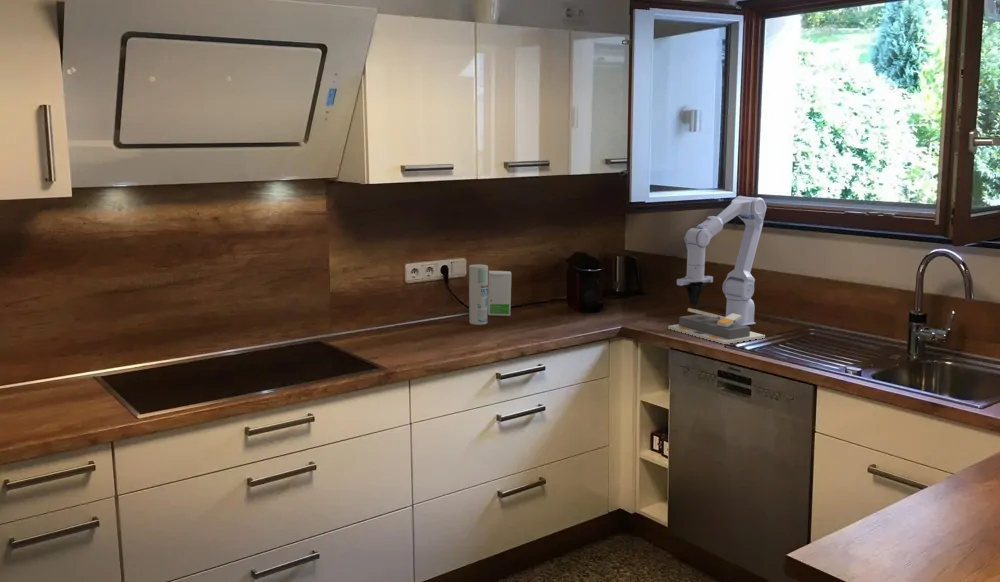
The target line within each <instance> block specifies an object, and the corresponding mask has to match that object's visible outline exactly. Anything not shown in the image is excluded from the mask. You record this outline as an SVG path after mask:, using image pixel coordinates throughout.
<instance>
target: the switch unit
mask: <svg viewBox="0 0 1000 582" xmlns="http://www.w3.org/2000/svg"><path fill="white" fill-rule="evenodd" d="M719 320H721V319H717V318H713V317H709V316H705V315H701V314H697V313H696V314H692V315H691V314H690V315H685V316H679V319H678V324H673V325H667V328H668V330H670V329H671V330H670V331H674V330H675V332H679V333H681V332H682V333H681V334H685V333H686V334H685V335H688V334H689V336H692V335H693V337H695V336H696V338H699V337H700V338H699V339H702V338H704V339H703V340H706V339H707V341H709V340H711V341H710V342H713V341H715V342H714V343H716V342H718V343H717V344H720V343H722V344H721V345H724V344H728V345H731V344H730V343H733V344H738V343H737V342H739V343H744V342H743V341H745V342H750V341H749V340H751V341H756V340H755V339H757V340H763V339H766V335H765V334H762V333H757V332H754V331H751V327H750V326H749V325H745V326H744V325H740V324H736V323H733V324H731V325H730V326H728V327H724V326H721V325H718V323H717V322H718V321H719ZM762 338H763V339H762Z"/></svg>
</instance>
